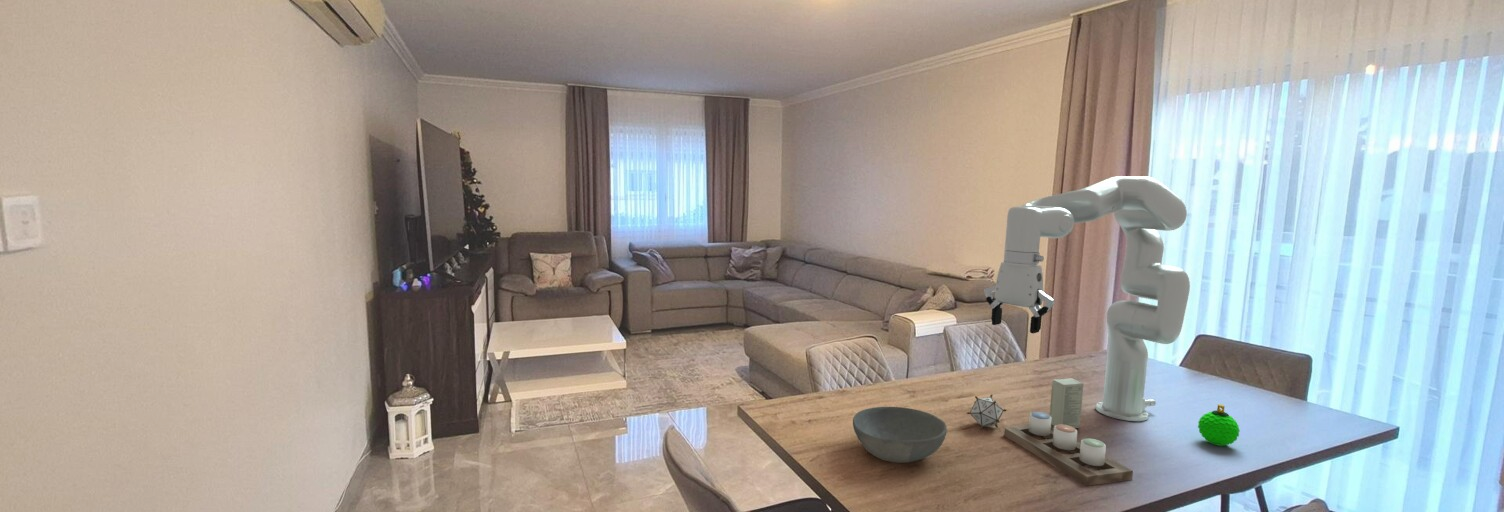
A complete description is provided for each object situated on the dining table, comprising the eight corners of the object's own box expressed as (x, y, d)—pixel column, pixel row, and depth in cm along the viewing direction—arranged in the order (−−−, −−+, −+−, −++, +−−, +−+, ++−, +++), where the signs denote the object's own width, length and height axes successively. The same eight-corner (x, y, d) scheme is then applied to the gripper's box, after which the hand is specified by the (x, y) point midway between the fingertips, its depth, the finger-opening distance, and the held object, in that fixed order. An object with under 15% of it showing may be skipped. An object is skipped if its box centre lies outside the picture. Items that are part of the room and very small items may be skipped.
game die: (991, 442, 156) (1011, 422, 150) (960, 428, 158) (978, 407, 151) (994, 416, 163) (1013, 395, 156) (964, 402, 164) (981, 380, 158)
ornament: (1188, 440, 152) (1193, 401, 151) (1209, 435, 155) (1213, 397, 154) (1224, 453, 145) (1229, 413, 143) (1245, 448, 148) (1250, 409, 147)
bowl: (929, 486, 125) (931, 449, 124) (835, 460, 136) (837, 426, 135) (954, 449, 143) (956, 417, 142) (870, 429, 154) (872, 398, 153)
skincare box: (1068, 421, 162) (1072, 377, 161) (1080, 428, 158) (1084, 383, 156) (1047, 423, 161) (1051, 378, 159) (1059, 430, 156) (1063, 384, 155)
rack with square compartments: (1044, 431, 155) (1044, 423, 155) (1132, 479, 130) (1133, 470, 130) (1004, 435, 152) (1004, 427, 152) (1086, 485, 127) (1087, 476, 127)
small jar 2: (1064, 440, 144) (1066, 422, 143) (1080, 449, 139) (1082, 431, 139) (1047, 442, 143) (1049, 424, 142) (1063, 450, 138) (1064, 432, 137)
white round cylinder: (1091, 455, 136) (1093, 436, 136) (1109, 464, 132) (1111, 445, 131) (1074, 457, 135) (1075, 438, 134) (1091, 466, 130) (1093, 447, 130)
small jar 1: (1040, 427, 151) (1041, 410, 151) (1054, 434, 147) (1056, 417, 146) (1024, 428, 150) (1025, 412, 150) (1038, 436, 146) (1039, 419, 145)
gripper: (1065, 262, 141) (1058, 334, 143) (995, 253, 155) (990, 319, 157) (1049, 263, 136) (1042, 338, 138) (979, 255, 150) (974, 323, 152)
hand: (1014, 328), depth 148 cm, fingers open, 9 cm apart
